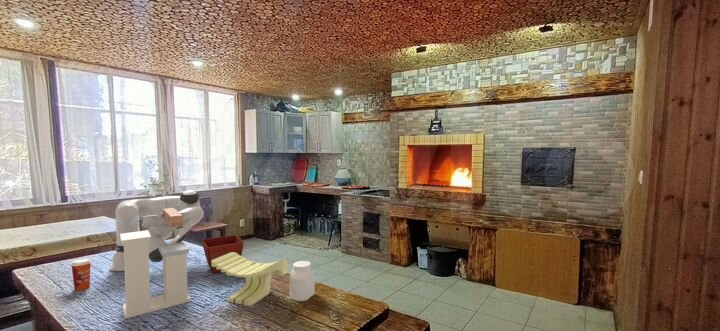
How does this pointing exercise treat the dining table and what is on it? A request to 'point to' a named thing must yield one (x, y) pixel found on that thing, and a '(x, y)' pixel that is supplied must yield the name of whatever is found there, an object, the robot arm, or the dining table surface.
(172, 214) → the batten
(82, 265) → the paper cup
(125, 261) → the stand
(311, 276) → the jar
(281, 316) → the dining table surface
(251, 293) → the slatted curved stool
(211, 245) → the plant pot
